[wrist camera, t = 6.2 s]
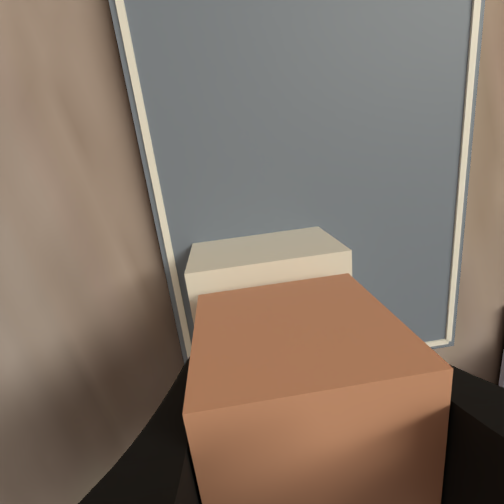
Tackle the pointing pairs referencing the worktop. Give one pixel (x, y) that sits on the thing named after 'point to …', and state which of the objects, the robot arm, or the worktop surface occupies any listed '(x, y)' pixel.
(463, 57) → the board
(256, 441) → the terracotta block
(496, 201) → the worktop surface
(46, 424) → the worktop surface
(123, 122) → the worktop surface
